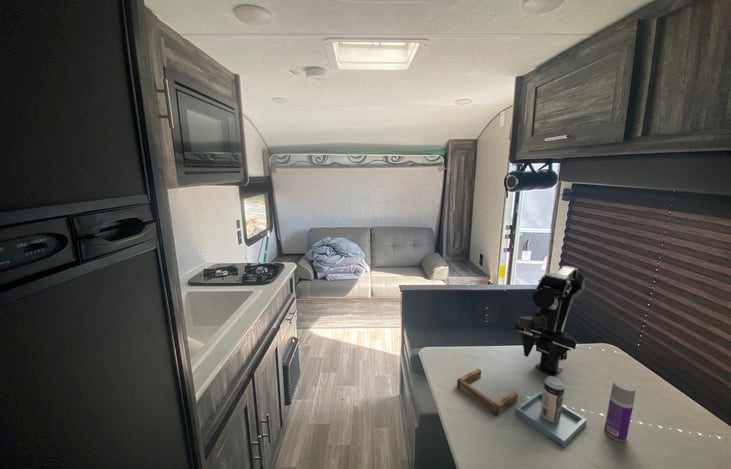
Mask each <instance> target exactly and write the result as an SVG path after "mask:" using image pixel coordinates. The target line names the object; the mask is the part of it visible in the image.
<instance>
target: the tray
mask: <svg viewBox="0 0 731 469" xmlns="http://www.w3.org/2000/svg"><path fill="white" fill-rule="evenodd" d="M542 397H543V392H541V391H537V392H536V393H535V394H533V395H532V396H530V397H529V398H528V399H526V400H525V401H523V402H522V403H520V404H519V405H518V406H516V407H515V411H514V414H515V415H516V416H517V417H519V418H520V419H522V420H523V421H525V422H526V423H527V424H528V425H530V426H531V427H533V428H534V429H536V430H537V431H539V432H540V433H542V434H543V435H545V436H546V437H547V438H549V439H550V440H552V441H553V442H555V443H556V444H557V445H559V447H562V448H564V447H565V446H567V444H568V443H569V442H571V440H573V438H575V437H576V436H577V435H578V433H579V434H580V432H581V431H582V430H583V429H584V428H585V427H586V426H587V421H588V419H587V418H586V417H584V416H582V415H581V414H579V413H577V412H575V411H574V410H572V409H570V408H568V407H567V406H565V405H563V404H562V409H561V416H560V421H559V422H558V423H552V422H549V421H547V420H545V419H544V418H543V417H542V416H541V413H540V412H541V405H542Z"/></svg>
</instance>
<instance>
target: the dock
mask: <svg viewBox="0 0 731 469" xmlns="http://www.w3.org/2000/svg"><path fill="white" fill-rule="evenodd" d="M481 375H482V370H481V369H480V368H476V369H474V370H473V371H471V372H469V373H467V374H465V375H463V376H461V377H460V378H457V381H456V388H457V389H458V390H460V391H461V392H462V393H463V394H465V395H467V396H468V397H469V398H470V399H471V400H473V401H474V402H476V403H477V404H478V405H480V406H481V407H483V408H484V409H485V410H486V411H488V412H489V413H491V414H492V415H493V416H494V417H498V416H499V415H501V414H503V412H506V410H508V409H509V408H511V407H512V406H514V405H515V404H517V403H518V397H519V393H517V392H516V391H515V390H514V391H512V392H511V393H510V394H508V395H507V396H505V397H503V398H502V399H500V400H498V401H497V402H494V401H493V400H492V399H490V398H489V397H488V396H486V395H484V394H483V393H482V392H480V391H479V390H477V389H476V388H475V387H473V386H472V385H471V384H472V383H474V382H475V381H478V380H479V379H481Z"/></svg>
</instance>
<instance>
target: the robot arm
mask: <svg viewBox="0 0 731 469" xmlns="http://www.w3.org/2000/svg"><path fill="white" fill-rule="evenodd" d="M585 280H586V279H585V276H583V275H582V274H581V273H580V272H579V268H576V267H573V266H568V265H561V266H560V269H559V270H558V271H556V272H554V273H552V272H548V273H545V274H544V275H542V276H541V279H540V280H539V282H538V284H537V286H536V291H535V292H534V293H533V295H532V301H533V303H534V305H535V306H536V307H537V312H536V311H534V312H533V314H532V315H531V316H525V315H524V316H519V317H518V322H516V323H515V326H514V329H515V330H517V334H519V336H520V338H521V340H522V347H523V355H524V357H527V358H528V357H529V356H530V354H531V352H532V350H533V347H534V345H535V351H536V352H539V353H540V360H539V363H537V364H535V366H534V367H535V368H536V369H539V370H540V371H542V372H545V373H546V374H548V375H549V376H554V377H556V375H558V374H559V373H561V372H563V368H561V367H559V366H560V361H562V362H563V361H564V360H567V359H568V351H570V352H571V351H572V349H573V350H575V349H576V347H577V342H576V340H575V338H573V337H570V336H567V335H564V334H563V332H564V330H565V325H566V323H567V319H568V315H569V313H570V309H571V306H572V303H573V301H574V300H575V299H577V298H578V297H580V295H581V293H582V292H583V291H584V289H585V285H586V281H585Z"/></svg>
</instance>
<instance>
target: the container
mask: <svg viewBox="0 0 731 469" xmlns="http://www.w3.org/2000/svg"><path fill="white" fill-rule="evenodd" d="M636 391H637V389H636V387H635V386H634V385H633V384H632V383H630V382H628V381H625V380H622V379H614V380H613V383H612V385H611V390H610V395H609V401H608V406H607V410H606V411H607V412H606V417H605V422H604V429H603V431H604V433H605V435H607V436H609V437H610V439H612V440H615V441H617V442H625V441H627V439H628V434H629V428H630V423H631V418H632V415H633V409H634V402H635V396H636Z"/></svg>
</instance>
